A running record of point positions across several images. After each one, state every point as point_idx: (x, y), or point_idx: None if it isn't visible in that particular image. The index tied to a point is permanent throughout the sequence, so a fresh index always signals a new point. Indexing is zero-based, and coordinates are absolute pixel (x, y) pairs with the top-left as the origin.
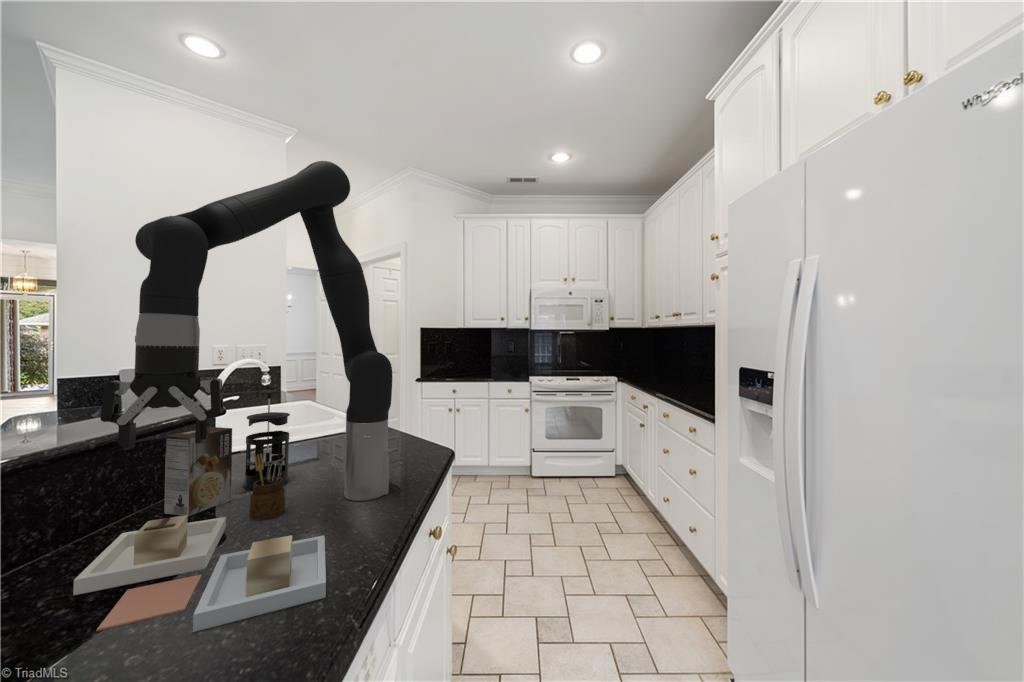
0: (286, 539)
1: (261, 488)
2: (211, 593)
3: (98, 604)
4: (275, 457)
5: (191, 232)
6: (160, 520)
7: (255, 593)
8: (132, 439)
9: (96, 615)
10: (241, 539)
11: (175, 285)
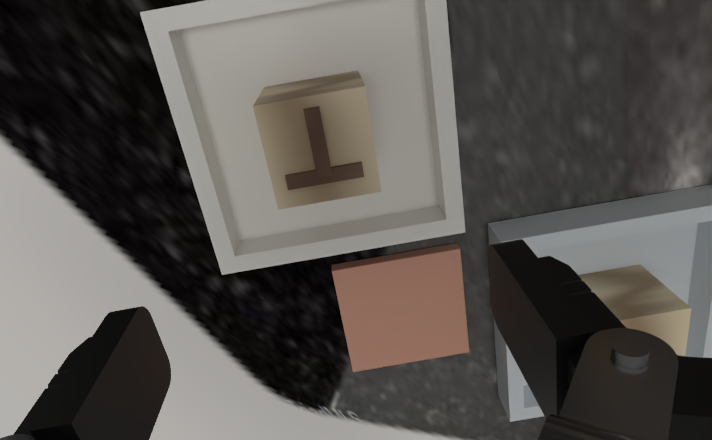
0: (677, 325)
1: None
2: (522, 376)
3: (293, 280)
4: None
5: None
6: (294, 113)
7: None
8: (141, 374)
9: (313, 312)
10: (496, 46)
11: None
